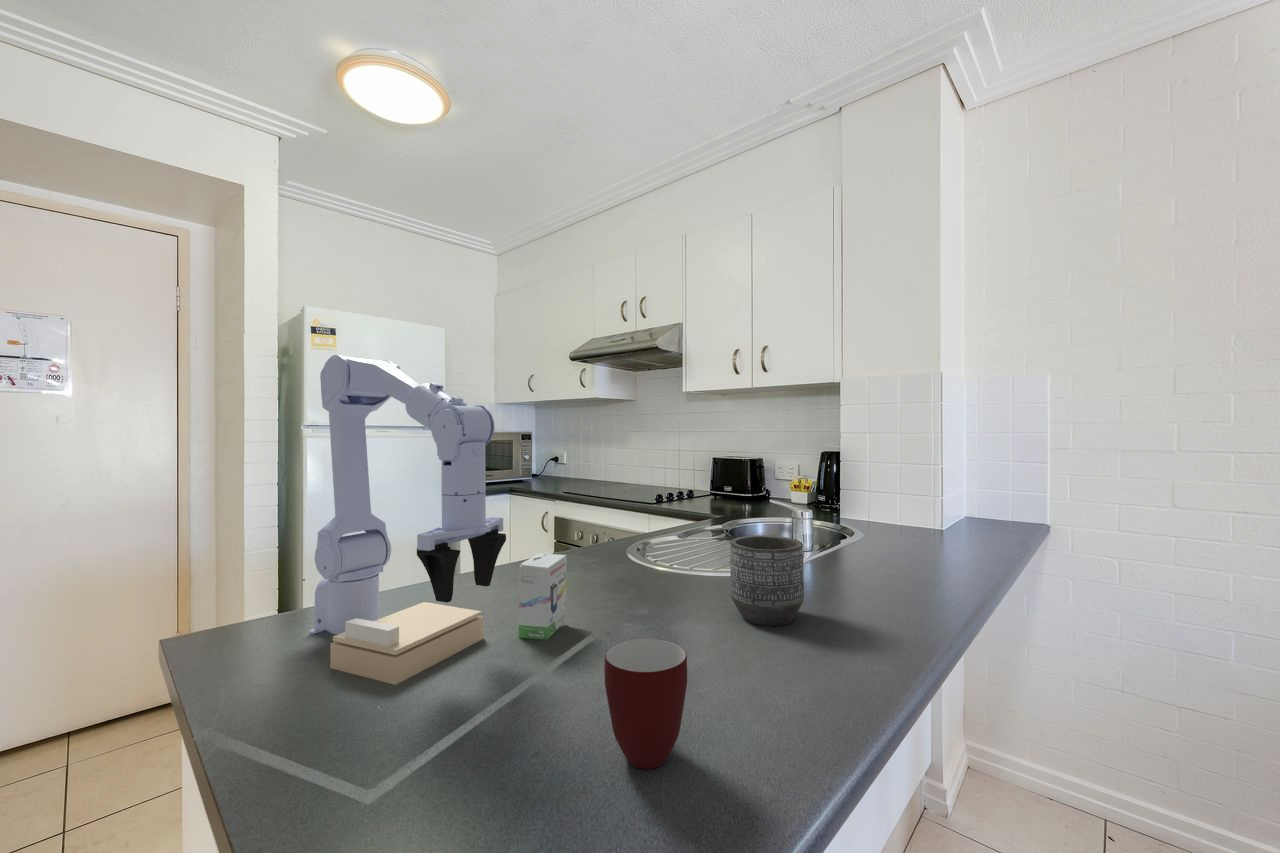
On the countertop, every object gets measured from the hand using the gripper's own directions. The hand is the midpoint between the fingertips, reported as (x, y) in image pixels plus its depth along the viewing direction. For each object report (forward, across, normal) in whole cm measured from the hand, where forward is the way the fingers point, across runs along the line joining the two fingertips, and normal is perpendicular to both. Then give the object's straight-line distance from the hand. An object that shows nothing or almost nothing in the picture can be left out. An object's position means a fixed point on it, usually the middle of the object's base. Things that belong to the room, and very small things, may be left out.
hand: (464, 592), depth 73 cm
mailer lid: (+6, -1, +9) cm, 11 cm away
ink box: (+10, +14, -3) cm, 18 cm away
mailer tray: (+10, -1, +9) cm, 13 cm away
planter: (+10, +35, -34) cm, 50 cm away
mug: (+10, -8, -30) cm, 33 cm away
